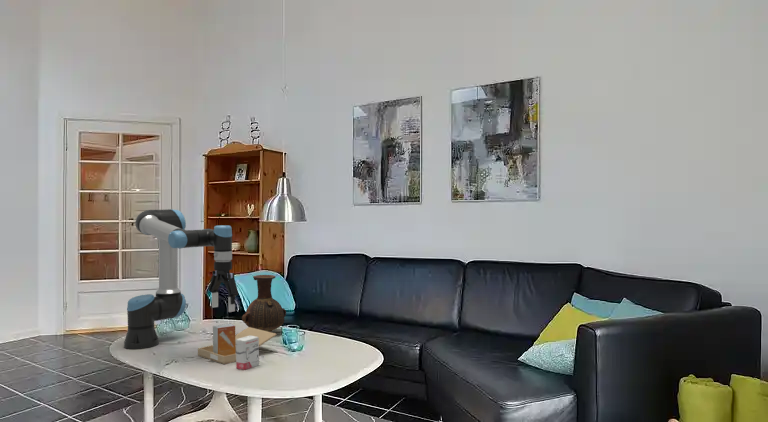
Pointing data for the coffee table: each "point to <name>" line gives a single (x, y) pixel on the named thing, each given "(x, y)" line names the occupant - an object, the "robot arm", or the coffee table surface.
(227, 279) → the robot arm
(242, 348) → the ink box
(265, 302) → the vase
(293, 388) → the coffee table surface
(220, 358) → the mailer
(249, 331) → the lid
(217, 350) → the small box
